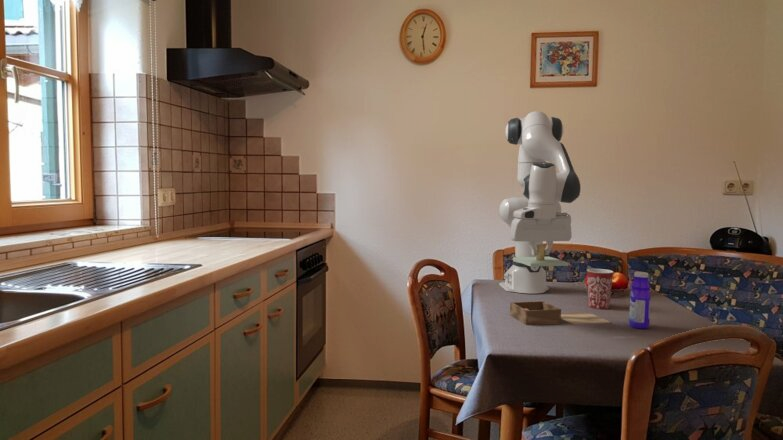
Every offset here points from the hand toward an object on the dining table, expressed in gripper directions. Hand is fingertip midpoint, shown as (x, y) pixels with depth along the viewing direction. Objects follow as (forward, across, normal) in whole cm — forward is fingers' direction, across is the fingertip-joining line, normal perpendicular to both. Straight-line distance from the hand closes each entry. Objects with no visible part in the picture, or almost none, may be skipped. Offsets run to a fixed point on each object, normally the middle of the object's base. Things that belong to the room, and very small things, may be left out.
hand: (540, 254), depth 181 cm
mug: (+22, -32, -16) cm, 43 cm away
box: (+22, +1, 0) cm, 22 cm away
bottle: (+22, -29, +12) cm, 38 cm away
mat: (+22, -15, +1) cm, 26 cm away
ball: (+21, +3, -2) cm, 22 cm away
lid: (+3, 0, 0) cm, 3 cm away
